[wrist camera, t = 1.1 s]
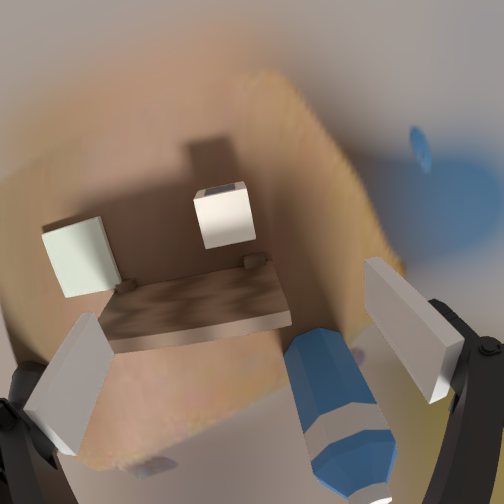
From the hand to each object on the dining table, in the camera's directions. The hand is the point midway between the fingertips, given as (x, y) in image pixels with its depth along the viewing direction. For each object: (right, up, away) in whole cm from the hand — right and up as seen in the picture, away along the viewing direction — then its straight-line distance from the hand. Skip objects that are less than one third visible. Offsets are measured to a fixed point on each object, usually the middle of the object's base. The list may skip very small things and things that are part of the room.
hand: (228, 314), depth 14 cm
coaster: (-20, +2, +20) cm, 28 cm away
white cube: (-2, +8, +20) cm, 21 cm away
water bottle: (+10, -12, +28) cm, 32 cm away
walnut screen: (-6, -1, +22) cm, 23 cm away
